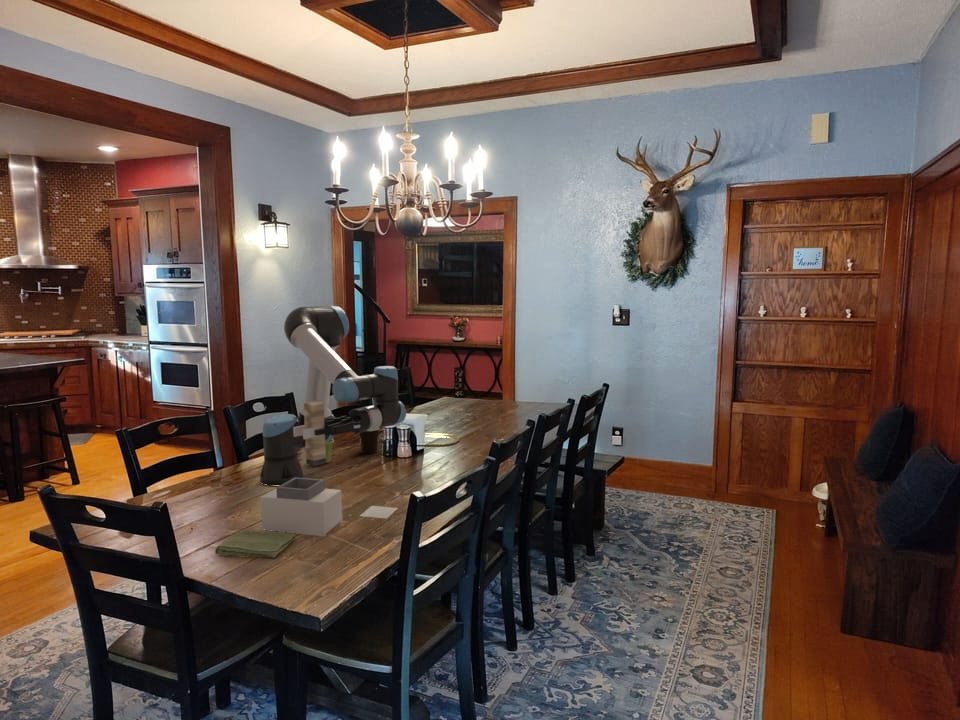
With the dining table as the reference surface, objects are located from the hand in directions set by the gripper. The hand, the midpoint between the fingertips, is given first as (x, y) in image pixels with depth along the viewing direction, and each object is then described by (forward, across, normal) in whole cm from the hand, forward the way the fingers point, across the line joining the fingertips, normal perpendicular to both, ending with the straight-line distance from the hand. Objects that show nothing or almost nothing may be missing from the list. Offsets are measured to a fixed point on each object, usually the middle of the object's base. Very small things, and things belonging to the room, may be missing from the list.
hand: (299, 433), depth 177 cm
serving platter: (-95, +49, -29) cm, 110 cm away
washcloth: (+15, 0, -30) cm, 33 cm away
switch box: (-2, +3, -29) cm, 29 cm away
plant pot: (-46, +55, -29) cm, 77 cm away
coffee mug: (-69, +53, -29) cm, 92 cm away
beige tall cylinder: (-5, 0, -10) cm, 11 cm away
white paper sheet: (-23, -7, -29) cm, 37 cm away
